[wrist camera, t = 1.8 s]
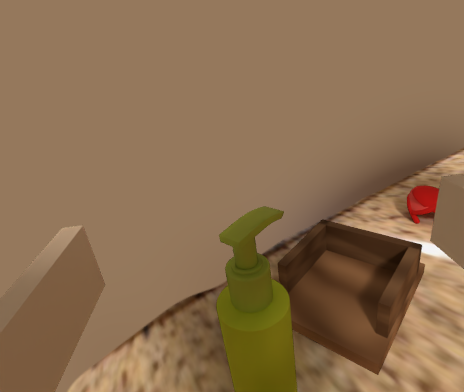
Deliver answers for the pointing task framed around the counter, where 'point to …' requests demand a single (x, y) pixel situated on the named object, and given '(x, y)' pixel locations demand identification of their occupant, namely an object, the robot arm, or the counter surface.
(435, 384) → the counter surface
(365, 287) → the u rest
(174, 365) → the counter surface
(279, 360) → the soap dispenser
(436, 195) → the cap
